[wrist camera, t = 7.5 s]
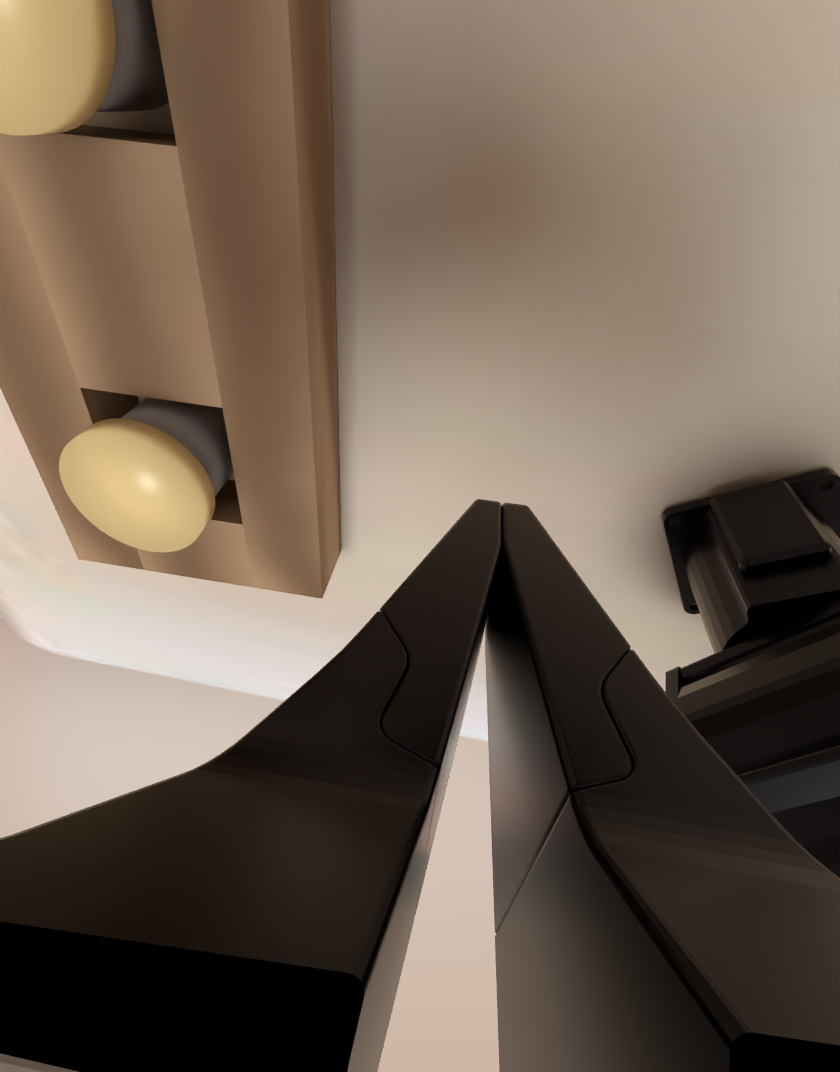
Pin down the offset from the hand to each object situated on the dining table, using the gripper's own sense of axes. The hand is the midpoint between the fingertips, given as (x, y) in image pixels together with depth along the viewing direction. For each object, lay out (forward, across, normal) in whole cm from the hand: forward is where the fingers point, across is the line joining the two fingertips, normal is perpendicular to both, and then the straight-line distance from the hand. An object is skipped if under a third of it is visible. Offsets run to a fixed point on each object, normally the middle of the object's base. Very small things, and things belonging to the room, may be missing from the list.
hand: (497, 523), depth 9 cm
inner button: (+12, +12, +6) cm, 19 cm away
